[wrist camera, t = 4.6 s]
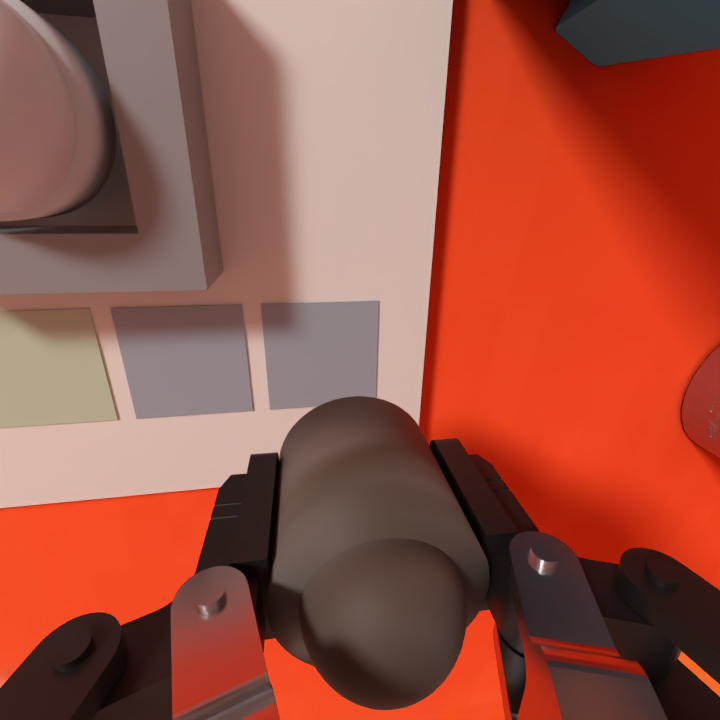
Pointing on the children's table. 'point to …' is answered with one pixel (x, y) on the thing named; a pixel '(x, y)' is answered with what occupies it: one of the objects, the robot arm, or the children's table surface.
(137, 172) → the dome housing
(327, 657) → the pawn
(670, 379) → the children's table surface
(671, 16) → the block
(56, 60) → the dome
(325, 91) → the game board
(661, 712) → the robot arm
